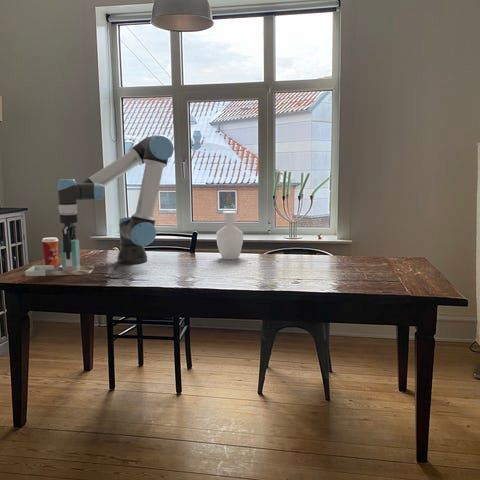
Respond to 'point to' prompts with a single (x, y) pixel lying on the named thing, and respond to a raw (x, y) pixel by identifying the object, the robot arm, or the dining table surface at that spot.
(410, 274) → the dining table surface
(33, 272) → the tray
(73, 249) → the teal tall block
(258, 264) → the dining table surface
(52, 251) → the paper cup
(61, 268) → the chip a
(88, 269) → the slot board
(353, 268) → the dining table surface
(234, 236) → the vase
